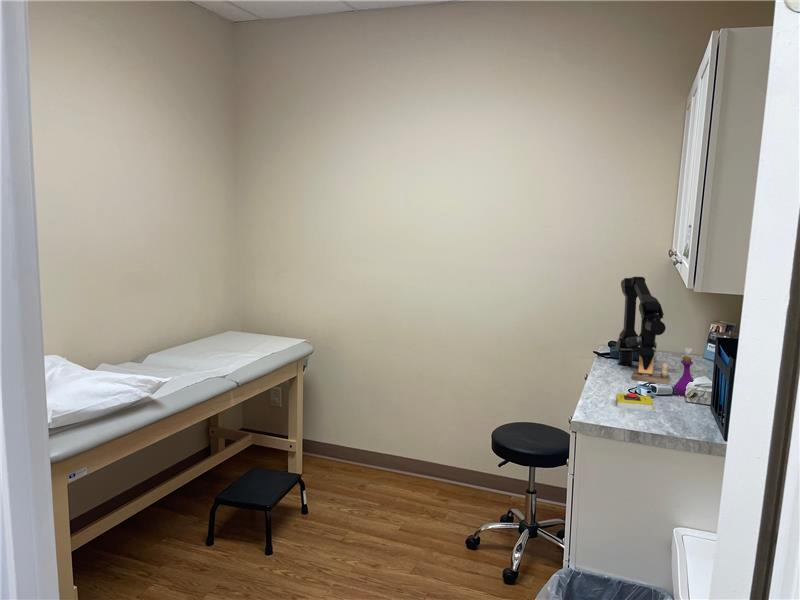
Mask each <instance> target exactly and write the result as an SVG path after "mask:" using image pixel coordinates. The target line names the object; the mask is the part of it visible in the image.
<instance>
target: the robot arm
mask: <svg viewBox="0 0 800 600" xmlns="http://www.w3.org/2000/svg"><path fill="white" fill-rule="evenodd" d="M645 278H646V277H643V276H632V277H624V278H623V279H622V280H621V281H620V289H621V291H622V295H623V296H624V298H625V299H624V316H623V329H622V331H621V332H620V333H619V337H618V339H617V342H616V343H615V347H614V348H615V351H616V352H618V353H619V356H618V358H619V359H618V362H617V364H616V365H618V366H626V365H628V367H633V366H634V363H635V362H634V361H633V359H634V358H633V357H634V353H636V354H637V355H639V356H641V357H642V360H643V366H644V370H647V369H648V367H649V365H650V363H651V361H652V359H653V357H654V358H655V354H656V351H657V350H656V349H657V342H656V338H657V336H661V335H663V334H664V333H665V332H666V328H667V327H666V325H665V323H664V322H663V321H662V320H663V319H664V314H665V313H664V311H663V307H662V305H661V303H660V302H659V300H658V298H656V297H654V296H653V295H652V293H651V291H650V290H649V287H648V285H647V282H646V279H645ZM637 299H638V300H639V304H638V311H639V314H640V318H641V322H640V323H641V325H640V333H639V334H638V333H637V331H636V328H635V326H636V313H637V312H636V310H637Z"/></svg>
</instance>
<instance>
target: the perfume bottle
mask: <svg viewBox="0 0 800 600" xmlns="http://www.w3.org/2000/svg"><path fill="white" fill-rule="evenodd" d="M693 350H694V348H692V347H684V352H685V353H686V354H687V355H686V356H685V355H683V356H682V360H681V361H680V364H682V365H683V373H682V375H681V377H680V378H679V380H678V381H677V382H676V383H675V384H674V385H673V387H672V388H673V390H674V392H675V393H676V394H677V396H678V395H680V396H679V397H682V396H685V391H686V386H687V384H688V383H689V382H693V381H695V379H694V378H693V377H692V375H691V369H690V368H691V366H692V365H694V361H692V359H693V358H692V357H690V356H689V354H690V353H691V352H693Z"/></svg>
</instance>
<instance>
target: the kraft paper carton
mask: <svg viewBox="0 0 800 600" xmlns="http://www.w3.org/2000/svg"><path fill="white" fill-rule="evenodd" d="M638 358H639V360H638V372H640V373H649V374H652V373H653V371H654V362H655V356H654V357H653V359H652V361H651V363H650V365H649V367H648V369H647V370H644V366H643V360H642V357H641V356H640V355H639V357H638Z"/></svg>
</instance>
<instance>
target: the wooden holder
mask: <svg viewBox="0 0 800 600" xmlns="http://www.w3.org/2000/svg"><path fill="white" fill-rule="evenodd" d="M669 363H670V362H667V361H662V362H661V367H660V368H661V369H660V373H652V374H649V373H640V372H639V371H636V370H635V371H634V370H633V371H632V375H631V377H630V378H631V379H630V380H631V381H639V382H646V381H648V383H654V382H655V384H665V385H670V379H671V375H670V374H669V367H670V365H669Z"/></svg>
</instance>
